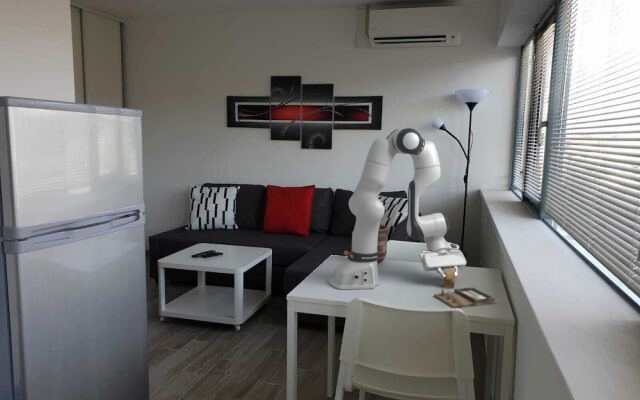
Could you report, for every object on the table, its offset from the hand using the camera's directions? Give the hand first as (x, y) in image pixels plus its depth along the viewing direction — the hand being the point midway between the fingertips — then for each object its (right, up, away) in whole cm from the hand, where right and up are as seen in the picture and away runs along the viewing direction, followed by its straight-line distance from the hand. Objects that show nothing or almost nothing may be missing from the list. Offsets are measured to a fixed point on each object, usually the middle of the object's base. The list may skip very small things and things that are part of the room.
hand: (450, 277), depth 207 cm
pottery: (-30, +2, +41) cm, 51 cm away
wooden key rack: (+2, -6, -15) cm, 16 cm away
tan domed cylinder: (0, -4, +1) cm, 4 cm away
